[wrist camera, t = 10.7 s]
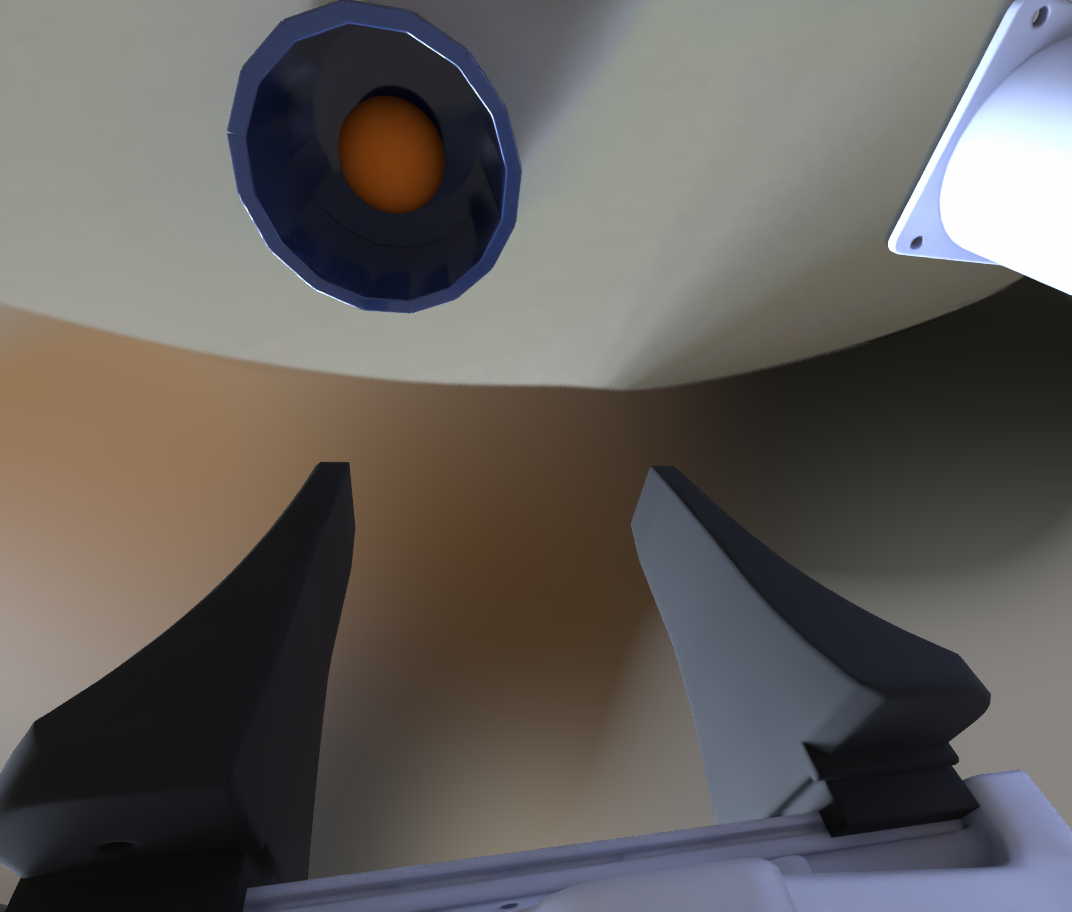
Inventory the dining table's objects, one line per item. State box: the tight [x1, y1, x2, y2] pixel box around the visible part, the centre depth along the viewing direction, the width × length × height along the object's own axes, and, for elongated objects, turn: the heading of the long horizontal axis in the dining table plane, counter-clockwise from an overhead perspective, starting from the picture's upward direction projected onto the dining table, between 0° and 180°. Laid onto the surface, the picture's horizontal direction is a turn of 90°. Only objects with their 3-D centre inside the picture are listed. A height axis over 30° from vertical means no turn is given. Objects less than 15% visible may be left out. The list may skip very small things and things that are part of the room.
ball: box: [338, 95, 445, 214], centre depth 16 cm, size 3×3×3 cm
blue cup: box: [227, 0, 522, 313], centre depth 15 cm, size 7×7×5 cm
